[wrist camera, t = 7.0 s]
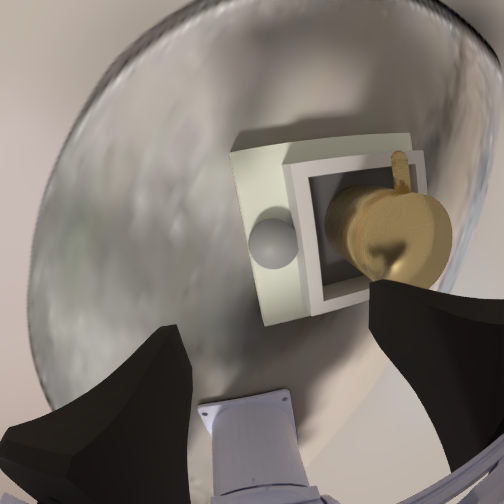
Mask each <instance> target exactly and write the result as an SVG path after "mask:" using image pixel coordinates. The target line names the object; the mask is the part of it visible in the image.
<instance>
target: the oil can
mask: <svg viewBox="0 0 504 504" xmlns="http://www.w3.org/2000/svg"><path fill="white" fill-rule="evenodd" d="M391 165H392V173H393V182H394V189H391V188H385V187H379V186H373V185H366V184H354V185H350V186H347V187H345V188H344V189H342V190H341V191H339V192H338V193H337V194H336V195H335V196H334V197H333V199H332V200H331V202H330V204H329V206H328V208H327V211H326V214H325V219H324V230H325V235H326V238H327V240H328V243H329V244H330V246H331V247H332V249H333V250H334V251H335V252H336V253H338V254H339V255H340V256H342V257H343V258H344V259H345V260H347V261H348V262H349V263H351V264H352V265H353V266H354V267H356V268H357V269H358V270H360V271H361V272H362V273H363V274H365V275H366V276H367V277H369V278H370V279H371V280H372V281H378V280H381V279H387V280H393V281H397V282H402V283H406V284H409V285H413V286H417V287H421V288H425V289H429V288H430V287H431V286H432V285H433V284H434V283H435V282H436V281H437V280H438V278H439V277H440V275H441V274H442V272H443V270H444V269H445V266H446V264H447V262H448V259H449V256H450V252H451V247H452V227H451V222H450V219H449V216H448V214H447V212H446V210H445V208H444V207H443V206H442V204H441V203H440V202H439V201H437V200H436V199H434V198H433V197H430V196H427V195H423V194H418V193H413V192H411V185H410V175H409V166H408V158H407V155H406V154H405V153H404V152H402V151H395V152H393V153H392V155H391Z"/></svg>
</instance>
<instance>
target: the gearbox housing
mask: <svg viewBox="0 0 504 504" xmlns="http://www.w3.org/2000/svg"><path fill="white" fill-rule="evenodd" d="M395 151H402V152H404V153H405V154H406V155H407V158H408V166H409V175H410V185H411V192H413V193H418V194H423V195H427V196H428V194H427V180H426V170H425V160H424V152H423V150H412V143H411V137H410V133H385V134H366V135H352V136H340V137H330V138H320V139H311V140H303V141H295V142H288V143H281V144H275V145H268V146H262V147H256V148H250V149H245V150H239V151H234V152H230V153H229V156H230V161H231V166H232V171H233V176H234V181H235V186H236V191H237V196H238V201H239V206H240V211H241V216H242V221H243V226H244V231H245V236H246V241H247V246H248V251H249V256H250V261H251V266H252V271H253V276H254V281H255V286H256V291H257V296H258V301H259V306H260V311H261V315H262V319H263V322H264V326H265V327H266V326H270V325H274V324H279V323H283V322H287V321H291V320H295V319H299V318H303V317H307V316H315V315H319V314H323V313H327V312H330V311H334V310H337V309H341V308H345V307H348V306H351V305H355V304H358V303H362V302H365V301H368V300H369V283H370V282H374V281H372V280H371V279H370V278H369V277H367V276H366V275H365V274H363V273H362V272H361V271H360V270H358V269H357V268H356V267H354V266H353V265H352V264H351V263H349V262H348V261H347V260H345V259H344V258H343V257H342V256H340V255H339V254H338V253H336V252H335V251H334V250H333V249H332V247H331V246H330V244H329V243H328V240H327V238H326V235H325V230H324V219H325V214H326V211H327V208H328V206H329V204H330V202H331V200H332V199H333V197H334V196H335V195H336V194H337V193H338V192H339V191H341V190H342V189H344V188H345V187H347V186H350V185H354V184H366V185H373V186H379V187H385V188H391V189H394V182H393V173H392V165H391V155H392V153H393V152H395Z"/></svg>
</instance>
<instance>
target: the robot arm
mask: <svg viewBox="0 0 504 504" xmlns="http://www.w3.org/2000/svg"><path fill="white" fill-rule="evenodd" d="M369 330H370V331H371V333H372V335H373V337H374V338H375V340H376V342H377V343H378V345H379V347H380V348H381V349H382V350H383V352H384V353H385V354H386V355H387V357H388V358H389V359H390V360H391V362H392V363H393V364H394V365H395V367H396V368H397V369H398V370H399V371H400V373H401V374H402V375H403V376H404V378H405V379H406V380H407V381H408V383H409V384H410V385H411V387H412V388H413V390H414V391H415V392H416V394H417V396H418V398H419V399H420V401H421V403H422V404H423V406H424V408H425V410H426V412H427V414H428V416H429V418H430V419H431V421H432V423H433V425H434V427H435V430H436V432H437V434H438V436H439V439H440V441H441V444H442V446H443V449H444V452H445V455H446V457H447V460H448V463H449V466H450V470H451V474H449V475H448V476H446V477H445V478H443V479H442V480H440V481H438V482H437V483H435V484H433V485H432V486H430V487H428V488H426V489H424V490H423V491H421V492H419V493H417V494H415V495H413V496H411V497H410V498H407V499H406V500H403V501H401V502H400V503H397V504H445V503H446V502H448V501H450V500H451V499H453V498H454V497H456V496H457V495H459V494H460V493H461V492H463V491H464V490H466V489H467V488H468V487H470V486H471V485H473V484H474V483H475V482H477V481H478V480H479V479H480V478H482V477H483V476H484V475H486V474H487V473H488V472H489V474H488V476H487V477H486V478H484V479H483V480H482V481H481V482H480V483H478V484H477V485H476V486H475V487H474V488H473V489H472V490H471V491H470V492H469V493H468V494H467V495H466V496H465V497H464V498H463V499H462V500H461V501H460V502H459V503H457V504H504V299H502V300H501V299H478V298H470V297H462V296H456V295H451V294H446V293H441V292H437V291H433V290H429V289H425V288H421V287H417V286H413V285H409V284H406V283H402V282H397V281H393V280H387V279H381V280H378V281H374V282H370V283H369ZM192 392H193V382H192V366H191V364H190V361H189V359H188V356H187V353H186V350H185V348H184V345H183V342H182V339H181V336H180V333H179V331H178V328H177V325H176V324H175V325H169V326H162V327H160V328H158V329H157V330H156V331H155V332H154V333H153V334H152V335H151V336H150V337H149V338H148V339H147V340H146V341H145V342H144V343H143V344H142V345H141V346H140V347H139V348H138V349H137V350H136V351H135V352H134V353H133V354H132V355H131V356H130V357H129V358H128V359H127V360H126V361H125V362H124V363H123V364H122V365H121V366H119V367H118V368H117V369H116V370H115V371H114V372H113V373H112V374H111V375H109V376H108V377H107V378H106V379H105V380H103V381H102V382H101V383H99V384H98V385H97V386H95V387H94V388H93V389H91V390H90V391H88V392H87V393H85V394H83V395H82V396H80V397H79V398H77V399H75V400H74V401H72V402H70V403H69V404H67V405H65V406H63V407H61V408H59V409H57V410H55V411H53V412H51V413H49V414H46V415H44V416H42V417H40V418H37V419H34V420H32V421H28V422H25V423H22V424H19V425H16V426H12V427H9V428H8V429H7V431H6V432H5V434H4V436H3V438H2V440H1V441H0V468H1V470H2V471H3V472H4V473H5V474H6V475H7V476H8V477H9V478H10V479H11V480H12V481H13V482H15V483H16V484H17V485H18V486H19V487H20V488H22V489H23V490H24V491H25V492H27V493H28V494H29V495H30V496H32V497H33V498H34V499H35V500H37V501H38V502H37V504H191V501H190V493H189V482H188V468H187V437H188V428H189V419H190V410H191V401H192ZM285 397H286V398H285ZM197 410H198V413H199V415H200V417H201V419H202V421H203V423H204V424H205V426H206V428H207V430H208V432H209V434H210V436H211V438H212V461H213V488H214V496H212V497H211V504H340V503H339V502H338V501H337V500H335V499H333V498H332V497H331V496H329V495H321V496H320V494H319V491H318V488H317V486H311V487H310V486H309V483H308V479H307V476H306V473H305V469H304V466H303V462H302V459H301V456H300V452H299V449H298V441H297V434H296V428H295V422H294V415H293V409H292V403H291V397H290V392H289V390H287V389H282V390H278V391H273V392H269V393H264V394H259V395H254V396H249V397H244V398H239V399H233V400H227V401H221V402H214V403H208V404H201V405H199V406H198V407H197ZM204 412H206V413H204ZM0 504H28V503H26V502H24V501H22V500H20V499H18V498H16V497H14V496H12V495H10V494H8V493H3V496H2V499H1V501H0Z"/></svg>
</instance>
